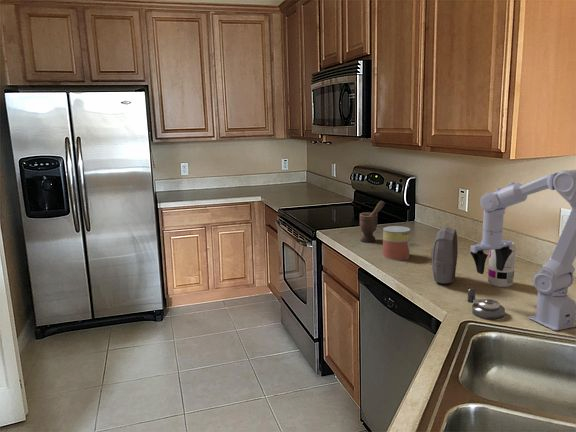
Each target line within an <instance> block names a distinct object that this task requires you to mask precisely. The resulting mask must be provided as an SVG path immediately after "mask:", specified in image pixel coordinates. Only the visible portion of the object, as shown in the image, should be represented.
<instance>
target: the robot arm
mask: <svg viewBox="0 0 576 432" xmlns="http://www.w3.org/2000/svg"><path fill="white" fill-rule="evenodd" d="M507 185H508V186H505V187H503V188H496V189H495V190H494V191H493V192H485V194H483V195H482V196H481V197H480V200H479V203H480V207H481V209H482V210H483V218H482V222H483V223H482V237H481V241H480V243H479V242H478V243H475V244H472V245H470V255H471V256H472V258H473V261H474V264H475V268H476V273H477V274H480V275H483V274H484V272H485V266H486V261H487V258H488V257H489V256H488V254H486V253H485V252H486V251H487V252H488V251H490V250H494V249H495V253H496V269H497V270H500V271H503V268H504V266H505V263H506V261H507V259H508V257H509V256H510V254H511V253H512V250H511V249H509V248H512V242H513V241H511V240H506V241H502V240H503V229H504V214H506V213H505V212H506V209H507V208H508V207H511V206H514V205H517V204H519V203H520V204H521V203H522V202H525V201H526V200H527V199H528V197H529V195H532V194H536V193H539V192H542V191H545V190H551V191H556V192H557V193H558V194H559V196H561V197H562V198H563V199H564V200H565V201H566V202H567V203H568V204H569V205H570V207H571V211H570V213H569V215H568V217H567V219H566V221H565V225H564V227H563V229H562V232H561V234H560V236H559V238H558V240H557V243H556V245H555V248H554V249H553V252H552V253H551V256H550V259H549V260H548V261H546V263H545V264H543V266H542V267H541V269H540V270H539V272H537V273H535V275H534V277H533V280H532V281H533V285H534V288H535V289H536V290H537V299H536V309H535V314H534V315H529V316H528V317H527V318H528V319H530V320H532V321H534V322H536V323H538V324H540V325H542V326H545V327H547V328H548V329H550V330H553V331H561V330H565V329H570V328H575V327H576V301H575V300H574V299H572V298H571V297H570V296H569V295H568V289H569V287H571V286H572V285H573V283H574V274H575V273H574V272H575V271H576V268H575V266H574V265H573V264H574V261H575V259H576V169H571V170H570V169H569V170H568V169H567V170H565V169H564V170H561V171H558V172H553V173H549V174H546V175H544V176H541V177H539V178H536V179H534V180H533V181H530V182H527V183H524V184H522V183H519V182H516V183H515V182H510V183H508V184H507Z"/></svg>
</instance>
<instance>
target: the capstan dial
mask: <svg viewBox="0 0 576 432" xmlns="http://www.w3.org/2000/svg"><path fill="white" fill-rule="evenodd" d="M467 303H470V304H471V303H472V304H474V303H476V304H478V307H480V308H481V309H485V310H498V309H499V308H500V305H501V303H500V302H499V301H497V300H495V299H491V298H480V299H479V298H476V288H473V287H469V288H467Z"/></svg>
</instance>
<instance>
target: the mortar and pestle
mask: <svg viewBox="0 0 576 432" xmlns="http://www.w3.org/2000/svg"><path fill="white" fill-rule="evenodd" d="M385 204H386V203H385V201H383V200H380V201H379V202H378V203H377V204H376V206H375V208H374V210H373V211H372V212H361V213H359V227H360V230H361V232H362V233H363V234H362V235H361V237H360V242H363V243H371V242H376V240H377V239H376V237H375V236H374V232H375V231H376V230H377V226H378V219H379V218H378V215H379V214H378V213H379V212H380V211H381V210H382V208H383V207H384V206H385Z"/></svg>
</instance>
